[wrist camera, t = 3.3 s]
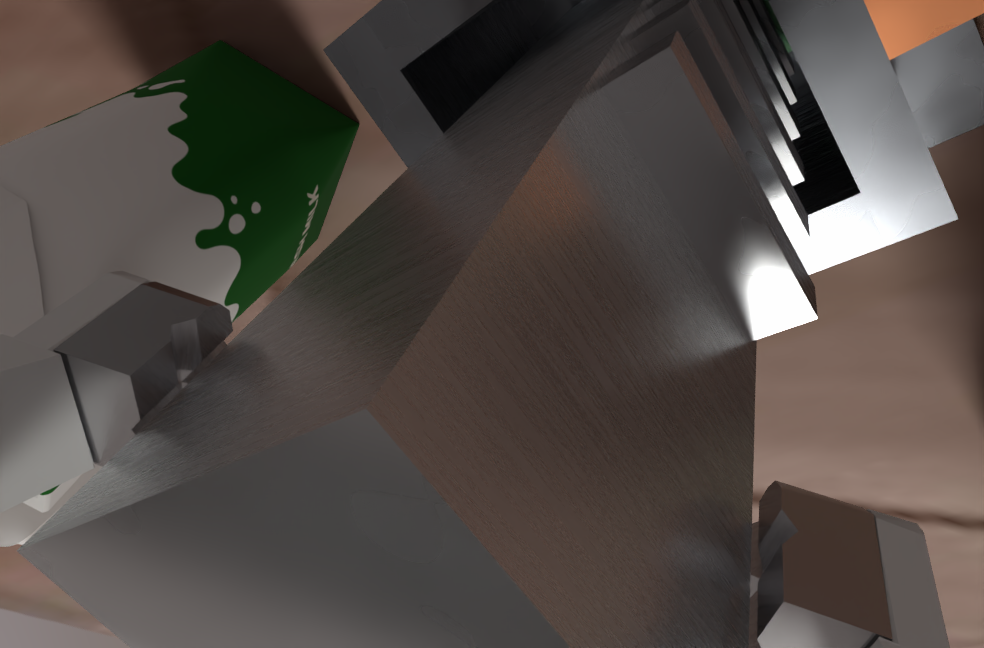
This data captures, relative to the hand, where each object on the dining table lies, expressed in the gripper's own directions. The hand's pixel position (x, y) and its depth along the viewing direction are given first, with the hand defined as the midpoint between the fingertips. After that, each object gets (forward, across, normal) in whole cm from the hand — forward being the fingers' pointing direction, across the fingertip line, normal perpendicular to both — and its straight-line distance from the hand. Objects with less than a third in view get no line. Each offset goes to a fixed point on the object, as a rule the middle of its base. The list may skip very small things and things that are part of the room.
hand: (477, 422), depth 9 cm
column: (+21, 0, 0) cm, 21 cm away
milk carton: (+22, +16, +9) cm, 29 cm away
